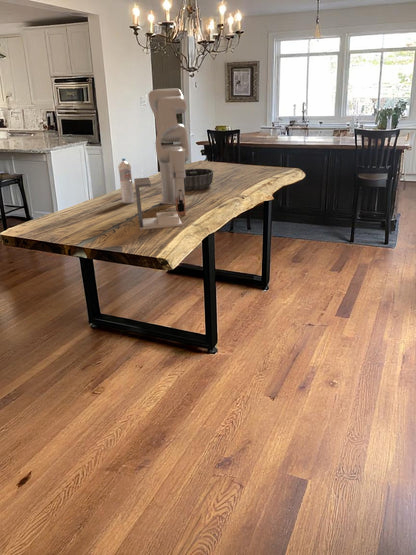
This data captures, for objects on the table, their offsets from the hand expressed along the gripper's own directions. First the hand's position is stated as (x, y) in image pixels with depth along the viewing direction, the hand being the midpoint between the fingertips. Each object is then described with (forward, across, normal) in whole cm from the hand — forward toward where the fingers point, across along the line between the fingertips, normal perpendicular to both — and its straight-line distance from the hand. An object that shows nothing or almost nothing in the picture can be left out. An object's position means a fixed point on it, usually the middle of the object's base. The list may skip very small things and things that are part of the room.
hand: (180, 209), depth 239 cm
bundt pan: (+3, -60, +16) cm, 62 cm away
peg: (+2, 0, 0) cm, 2 cm away
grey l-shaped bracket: (+1, +13, -19) cm, 23 cm away
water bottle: (+3, -35, -26) cm, 44 cm away
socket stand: (+2, +13, -12) cm, 18 cm away
